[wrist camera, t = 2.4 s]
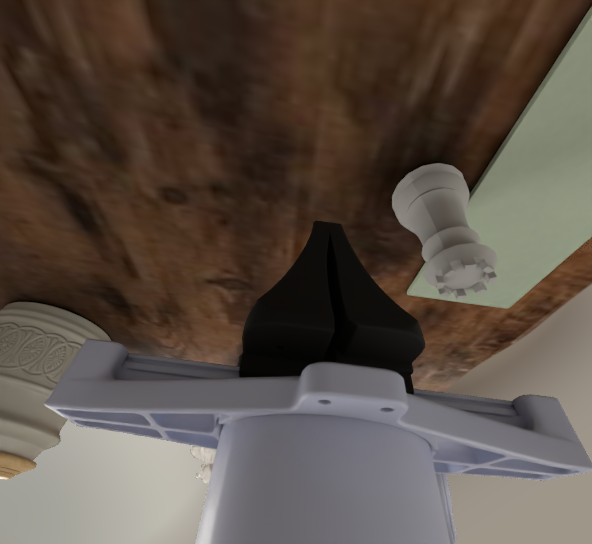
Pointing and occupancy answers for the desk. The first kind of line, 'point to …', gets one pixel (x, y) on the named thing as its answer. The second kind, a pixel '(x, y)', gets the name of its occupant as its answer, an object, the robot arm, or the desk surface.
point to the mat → (536, 183)
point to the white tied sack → (208, 457)
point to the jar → (34, 377)
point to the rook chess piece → (444, 230)
